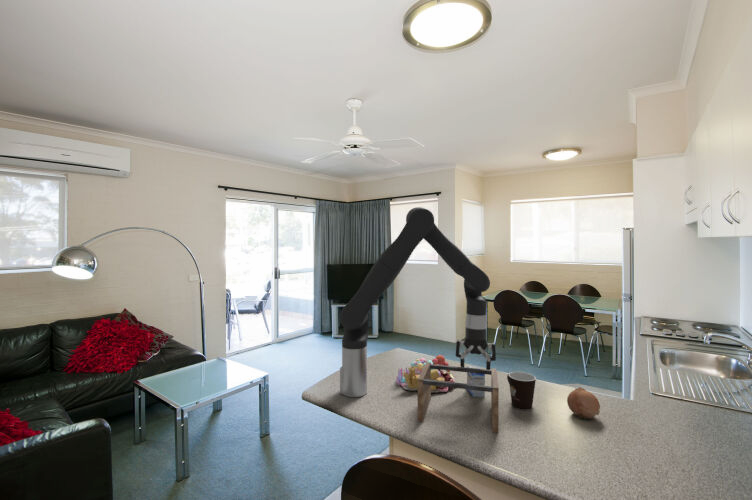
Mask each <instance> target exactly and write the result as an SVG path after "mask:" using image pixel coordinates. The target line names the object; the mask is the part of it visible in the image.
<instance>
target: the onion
mask: <svg viewBox="0 0 752 500" xmlns="http://www.w3.org/2000/svg"><path fill="white" fill-rule="evenodd" d="M566 402H567V406H568V409H569V410H570V411H571V413H573V414H574V415H576V416H577V417H579V418H580V419H584V420H588V419H589V420H590V419H594V417H596V416H599V414H600V412H601V411H600V409H601V404H600V402H599V400H598V398H597V397H596V395H594V394H593V393H591V392H590V391H587V390H586V389H584V388H583V387H580V386H579V387H577V388H575V389H574V390H572V391H571V392H569V394H568V395H567V399H566Z"/></svg>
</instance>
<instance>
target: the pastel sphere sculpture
mask: <svg viewBox="0 0 752 500" xmlns="http://www.w3.org/2000/svg"><path fill="white" fill-rule="evenodd" d="M426 362H430V363H431V364H434V365H445V366H450V363H448V362H447V361H446V358H445V356H444V355H441V354H438V355H436V356H435V358H432V360H428V361H427V360H426V359H425V358H424V357H421V358H420V359H419V358H417V359H416V360H415V361H412V362H410V367H406V368H405V369H403V368H402V367H398V370H397V372H398V374H397V376H396V384H397V385H399V386H400V387H401V386H402V387H401V388H402V389H404V390H406V391H407V390H408V391H418V378H419V376H420V374H421V372H422V370H423V368H424V366H425V364H426ZM451 372H452V371H449V370H445V371H444V370H439V369H431V380H437V381H446V382H455V383H456V381H455V377H454V376H453V374H451ZM453 380H454V381H453ZM449 390H451V391H454V388H451V387H442V386H433V385H431V393H441V392H442V393H443V392H446V393H447V392H448V391H449Z"/></svg>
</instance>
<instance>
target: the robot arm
mask: <svg viewBox="0 0 752 500" xmlns="http://www.w3.org/2000/svg"><path fill="white" fill-rule="evenodd" d="M422 240H424V241H425V242H427V243H428V244H429V245H430V246H431V247H432V249H434V251H435V252H436V253H437V254H438V255H439V257H440V258H441V259H442V261H444V263H446V265H447V266H448V268H450V269H451V270H452V271H453V272H454V273H455V274H457V275H458V276H460V277H462V278H463V279H464V280H463V288H464V295H465V296H464V297H465V300H466V311H465V313H466V316H465V336H464V340H460V339H457V340H456V342H455V343H456V345H455V357H457V358H459V359H460V361H459V363H460V366H459V367H465V359H466V358H465V357H466V356H468V354H471V355H475V354H476V355H482V356H483V358H485V360H486V361H485V362H486V364H485V365H486V366H485V369H486V370H491V362H493V361H496V360H497V357H496V356H497V355H496V354H497V353H496V343H495V342H490V343H489V342H487V330H488V328H487V326H488V324H487V323H488V322H487V321H488V320H487V302H486V299H485V298H484V297H483V294H482V293H484V292H486V291H487V290H489V288H490V285H491V280H490V278H489V276H488V275H487V273H485V271H483V270H482V269H481V268H480V267H479V266H478V265H476V264H475V263H473V262H472V261H471V259H469V258H468V256H467V255H466V254H465V253H464V252H463V251H462V250H461V249H460V248H459V247H458V246H457V245H456V244H455V243H454V242H453V241H451V240H450V239H449V238H448V236H446V235H445V234H444V233H443V232H442V230H440V229H439V227H438V226H437V225H436V223H435V216H434V214H433V212H432V211H431V210H429V209H428V208H425V207H420V206H418V207H413V208H411V209H410V210H409V211H408V212H407V214H406V217H405V224H404V226H403V228H402V230H401V232H399V234H398V235H397V237H396V239H395V240H394V241H393V242H392V243H391V244H390V245H388V247H386V249H385V250H384V251H383V252H381V254H380V256H379V257H378V258H377V260H376V261H375V262H374V264H373V266H371V269H369V271H368V273H367V275H366V277H365V278H364V280H363V281H362V284H361V285H360V287H359V288H358V290H357V291H356V293H355V294H354V295H353V296H352V297H351V298H350V300H349V301H348V302H347V303H346V304H345V306H343V308H342V309H341V311H340V314H339V322H340V324H341V326H342V327H343V328H344V329H343V330H344V332H343V336H342V340H341V366H340V368H339V394H340V395H343V396H345V397H347V398H360V397H363V396H365V395H366V394H367V393H368V338H369V318H370V317H369V313H370V311H371V309H372V307H373V306H374V304H375V303H376V302H377V300H378V299H379V298H380V297H381V296H382V295H383V294H384V293H385V292H386V291H387V290H388V288H389V287H391V285H392V284H393V282H394V281H395V280H396V278H397V277H398V275H399V274H400V272H401V271H402V270H403V268H404V266H405V265H406V263H407V262H408V261H409V259H410V257H411V255H412V254H413V252H414V250H415V249H416V248H417V247H418V246H419V244H420V243H421V242H422ZM463 345H464V347H465V349H464V351H463V352H462V353H461V352H460V351H461V350H460V348H461V347H463ZM488 348H489V350H491V356H490V355H489V354H488V352H487V351H486V350H487V349H488Z"/></svg>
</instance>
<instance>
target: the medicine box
mask: <svg viewBox="0 0 752 500" xmlns="http://www.w3.org/2000/svg"><path fill="white" fill-rule="evenodd" d="M466 368H476V369H481V368H480V367H479V366H477V365H476V366H474V365H472V366H471V365H469V366H468V365H467V366H466ZM466 384H473V385H482V386H486V374H478V373H468V372H466ZM467 391H468V392H469V393H470V395H471V396H472V397H473V398H484V397H485V396H486V391H477V390H468V389H467Z"/></svg>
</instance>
